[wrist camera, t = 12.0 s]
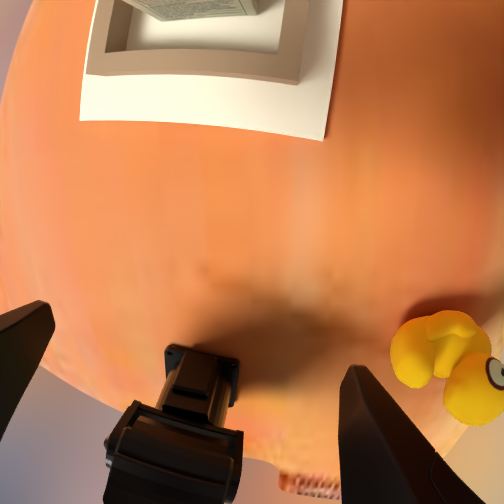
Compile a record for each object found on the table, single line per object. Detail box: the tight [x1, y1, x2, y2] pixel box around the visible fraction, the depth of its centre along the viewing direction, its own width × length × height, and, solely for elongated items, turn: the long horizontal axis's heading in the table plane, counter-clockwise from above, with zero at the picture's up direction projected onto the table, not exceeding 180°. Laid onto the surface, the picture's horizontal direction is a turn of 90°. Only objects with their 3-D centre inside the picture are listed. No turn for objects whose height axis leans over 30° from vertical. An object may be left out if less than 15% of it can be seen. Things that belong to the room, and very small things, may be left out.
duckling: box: [390, 310, 504, 426], centre depth 18 cm, size 11×5×10 cm, turn 82°
